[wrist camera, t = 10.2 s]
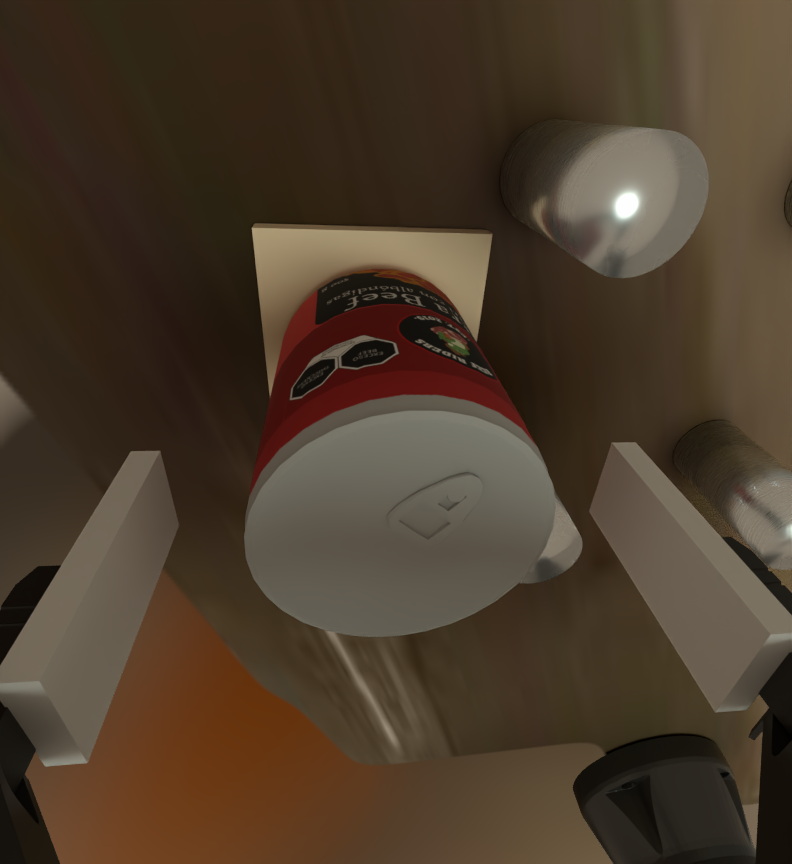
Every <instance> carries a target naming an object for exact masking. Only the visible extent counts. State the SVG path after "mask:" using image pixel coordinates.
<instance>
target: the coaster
mask: <svg viewBox="0 0 792 864" xmlns="http://www.w3.org/2000/svg"><path fill="white" fill-rule="evenodd" d="M252 234H253V244H254V253H255V262H256V272H257V281H258V290H259V300H260V309H261V318H262V328H263V337H264V347H265V356H266V365H267V375H268V384H269V393H270V396H271V391H272V387H273V382H274V378H275V373H276V369H277V364H278V360H279V355H280V351H281V346H282V342H283V337H284V334H285V332H286V330H287V328H288V325H289V323H290V321H291V319H292V317H293V316H294V315H295V313H296V312H297V311H298V309H299V308H300V306H301V305H302V304H303V303H304V302H305V301H306V300H307V299H308V298H309V297H310V296H311V295H312V294H313V293H314V292H316V291H317V290H318V289H320V288H321V287H323V286H325V285H326V284H328V283H329V282H331V281H333V280H334V279H337V278H340V277H342V276H345V275H348V274H350V273H353V272H358V271H364V270H370V269H392V270H398V271H402V272H406V273H410V274H414V275H416V276H418V277H420V278H422V279H424V280H427V281H429V282H431V283H432V284H433V285H435V286H436V287H437V288H438V289H440V290H441V291H442V292H443V293H445V294H446V295H447V297H448V298H449V299H450V301H451V302H452V303H453V304H454V306H455V307H456V308H457V310H458V311H459V313H460V315H461V316H462V318H463V320H464V322H465V323H466V325H467V327H468V328H469V330H470V332H471V333H472V335H473V337H474V338H475V340H476V342H477V337H478V331H479V324H480V317H481V310H482V303H483V296H484V290H485V283H486V276H487V269H488V262H489V255H490V248H491V242H492V235H493V234H492V233H491V232H489V231H488V230H483V229H447V228H410V227H374V226H337V225H301V224H265V223H255V224H254V225H253V227H252Z"/></svg>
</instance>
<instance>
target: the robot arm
mask: <svg viewBox="0 0 792 864" xmlns="http://www.w3.org/2000/svg"><path fill="white" fill-rule="evenodd" d="M589 513H590V514H591V516H592V517H593V519H594V521H595V522H596V524H597V525H598V527H599V528H600V530H601V532H602V533H603V535H604V536H605V538H606V540H607V541H608V543H609V544H610V546H611V548H612V549H613V551H614V552H615V554H616V556H617V557H618V559H619V560H620V562H621V563H622V565H623V567H624V568H625V570H626V571H627V573H628V575H629V576H630V578H631V579H632V581H633V583H634V584H635V586H636V587H637V589H638V590H639V592H640V594H641V595H642V597H643V598H644V600H645V602H646V603H647V605H648V606H649V608H650V610H651V611H652V613H653V614H654V616H655V618H656V619H657V621H658V622H659V624H660V625H661V627H662V629H663V630H664V632H665V633H666V635H667V637H668V638H669V640H670V641H671V643H672V645H673V646H674V648H675V649H676V651H677V653H678V654H679V656H680V657H681V659H682V660H683V662H684V664H685V665H686V667H687V668H688V670H689V672H690V673H691V675H692V676H693V678H694V680H695V681H696V683H697V684H698V686H699V688H700V689H701V691H702V692H703V694H704V695H705V697H706V699H707V700H708V702H709V703H710V705H711V707H712V708H713V710H714V711H715V712H726V711H738V710H747V709H748V708H749V706H750V705H751V704H752V703H753V701H754V700H755V699H756V697H757V696H758V695H759V694H760V696H761V697H762V698H763V700H764V701H765V702H766V704H767V705H768V707H769V709H768V710H767V711H766V713H765V714H764V715H763V716H762V718H761V719H760V720H759V721H758V723H757V724H756V725H755V726H754V727H753V729H752V730H751V733H750V735H749V738H751V739H753V740H755V739H756V738H757V737H758V735H759V734H760V733H761V732H763V737H762V755H761V773H760V791H759V809H758V810H759V811H758V828H757V845H756V846H757V847H756V850H755V848H754V845H753V842H752V839H751V835H750V832H749V828H748V825H747V822H746V818H745V814H744V811H743V807H742V804H741V800H740V797H739V793H738V789H737V786H736V783H735V779H734V775H733V772H732V770H731V768H730V766H729V764H728V763H727V761H726V759H725V758H724V756H723V754H722V752H721V751H720V749H719V747H718V746H717V745H716V744H715V743H714V742H712V741H711V740H708V739H705V738H702V737H696V736H670V737H663V738H657V739H651V740H647V741H643V742H639V743H636V744H633V745H629V746H627V747H624V748H621V749H619V750H616V751H614V752H612V753H610V754H608V755H606V756H604V757H602V758H600V759H598V760H597V761H595V762H593V763H592V764H591V765H589V766H588V767H587V768H586V769H584V770H583V771H582V772H581V773H580V774H579V775H578V777H577V778H576V780H575V782H574V785H573V791H574V794H575V797H576V800H577V802H578V805H579V808H580V811H581V813H582V816H583V818H584V819H585V821H586V822H587V824H588V825H589V827H590V829H591V830H592V831H593V833H594V835H595V836H596V838H597V839H598V841H599V842H600V844H601V845H602V847H603V849H604V850H605V852H606V853H607V855H608V856H609V858H610V859H611V861H612V862H613V864H792V593H791V592H790V591H789V590H788V589H787V588H786V587H785V585H781V581H780V580H779V579H778V578H777V577H776V576H775V575H774V574H773V573H772V572H771V571H770V572H769V571H768V567H767V566H766V565H765V564H764V563H763V562H762V561H761V560H760V559H759V558H758V557H757V556H756V555H755V554H754V553H753V552H752V551H751V550H750V549H748V548H747V547H745V546H744V545H742V544H741V543H739V542H738V541H736V540H735V539H733V538H732V537H721V536H720V535H719V534H718V533H717V532H716V531H715V530H714V529H713V528H712V526H711V525H710V524H709V523H708V522H707V521H706V520H705V519H704V518H703V517H702V515H701V514H700V513H699V512H698V511H697V510H696V509H695V508H694V507H693V505H692V504H691V503H690V502H689V501H688V500H687V499H686V498H685V497H684V495H683V494H682V493H681V492H680V491H679V490H678V489H677V488H676V487H675V485H674V484H673V483H672V482H671V481H670V480H669V479H668V478H667V477H666V476H665V474H664V473H663V472H662V471H661V470H660V469H659V468H658V467H657V466H656V464H655V463H654V462H653V461H652V460H651V459H650V458H649V457H648V456H647V454H646V453H645V452H644V451H643V450H642V449H641V448H640V447H639V446H638V444H637V443H636V442H623V443H611V446H610V449H609V452H608V455H607V458H606V461H605V464H604V467H603V470H602V473H601V476H600V479H599V482H598V486H597V489H596V492H595V495H594V498H593V501H592V504H591V507H590V510H589ZM178 527H179V523H178V519H177V515H176V511H175V508H174V504H173V500H172V496H171V492H170V488H169V484H168V480H167V476H166V472H165V468H164V464H163V460H162V456H161V452H160V451H131V452H130V454H129V455H128V457H127V459H126V460H125V462H124V464H123V465H122V467H121V469H120V470H119V472H118V473H117V475H116V477H115V478H114V480H113V482H112V483H111V485H110V487H109V488H108V490H107V492H106V493H105V495H104V496H103V498H102V500H101V501H100V503H99V505H98V506H97V508H96V510H95V511H94V513H93V515H92V516H91V518H90V520H89V521H88V523H87V524H86V526H85V528H84V529H83V531H82V533H81V534H80V536H79V538H78V539H77V541H76V542H75V544H74V546H73V547H72V549H71V551H70V552H69V554H68V556H67V557H66V559H65V561H64V562H63V564H62V565H60V566H38V567H37V568H35V569H34V570H33V571H32V572H31V573H29V574H28V575H27V576H26V577H25V578H23V579H22V580H21V581H20V582H19V583H17V584H16V585H15V587H14V588H13V590H12V591H11V592H10V594H9V595H8V597H7V598H6V600H5V601H4V603H3V604H2V606H1V610H0V864H60V862H59V860H58V857H57V854H56V852H55V849H54V846H53V844H52V841H51V838H50V835H49V833H48V830H47V827H46V825H45V822H44V819H43V817H42V815H41V811H40V809H39V806H38V803H37V801H36V798H35V795H34V793H33V790H32V787H31V784H30V782H29V780H28V779H27V777H26V776H25V772H26V770H27V768H28V766H29V764H30V762H31V759H32V757H33V755H34V753H35V752H36V754H37V755H38V757H39V758H40V759H41V761H42V762H43V764H44V765H45V766H56V765H68V764H81V763H88V760H89V758H90V755H91V753H92V750H93V747H94V745H95V742H96V740H97V737H98V734H99V732H100V729H101V727H102V724H103V721H104V719H105V716H106V714H107V711H108V708H109V706H110V703H111V701H112V698H113V695H114V693H115V690H116V688H117V685H118V682H119V679H120V677H121V675H122V672H123V670H124V667H125V664H126V662H127V659H128V657H129V654H130V651H131V649H132V646H133V644H134V641H135V638H136V636H137V633H138V630H139V628H140V625H141V623H142V620H143V618H144V615H145V612H146V610H147V607H148V604H149V602H150V599H151V597H152V594H153V592H154V588H155V586H156V584H157V581H158V578H159V576H160V573H161V571H162V568H163V566H164V563H165V560H166V558H167V555H168V553H169V550H170V547H171V545H172V542H173V540H174V537H175V534H176V532H177V529H178Z"/></svg>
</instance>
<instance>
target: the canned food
mask: <svg viewBox="0 0 792 864" xmlns="http://www.w3.org/2000/svg"><path fill="white" fill-rule="evenodd" d="M555 509H556V503H555V495H554V488H553V483H552V481H551V479H550V477H549V474H548V470H547V467H546V465H545V463H544V460H543V458H542V456H541V454H540V452H539V449H538V447H537V445H536V444H535V442H534V440H533V439H532V437H531V435H530V433H529V432H528V430H527V427H526V425H525V423H524V421H523V420H522V418H521V416H520V414H519V413H518V411H517V409H516V408H515V406H514V404H513V403H512V401H511V399H510V398H509V396H508V394H507V392H506V391H505V389H504V387H503V386H502V384H501V382H500V381H499V379H498V377H497V376H496V374H495V372H494V371H493V369H492V367H491V365H490V364H489V362H488V360H487V359H486V357H485V355H484V354H483V352H482V350H481V349H480V347H479V345H478V343H477V342H476V340H475V338H474V337H473V335H472V333H471V332H470V330H469V328H468V327H467V325H466V323H465V322H464V320H463V318H462V316H461V315H460V313H459V311H458V310H457V308H456V307H455V306H454V304H453V303H452V302H451V301H450V299H449V298H448V297H447V295H446V294H445V293H443V292H442V291H441V290H440V289H438V288H437V287H436V286H435V285H433V284H432V283H431V282H429V281H427V280H424V279H422V278H420V277H418V276H416V275H414V274H410V273H406V272H402V271H398V270H392V269H370V270H364V271H358V272H353V273H350V274H348V275H345V276H342V277H340V278H337V279H334V280H333V281H331V282H329V283H328V284H326V285H325V286H323V287H321V288H320V289H318V290H317V291H316V292H314V293H313V294H312V295H311V296H310V297H309V298H308V299H307V300H306V301H305V302H304V303H303V304H302V305H301V306H300V308H299V309H298V311H297V312H296V313H295V315H294V316H293V317H292V319H291V321H290V323H289V325H288V328H287V330H286V332H285V334H284V337H283V342H282V346H281V351H280V355H279V360H278V364H277V369H276V373H275V378H274V382H273V387H272V391H271V396H270V400H269V405H268V409H267V414H266V418H265V423H264V427H263V432H262V436H261V441H260V446H259V450H258V455H257V459H256V464H255V468H254V473H253V478H252V483H251V488H250V496H249V501H248V506H247V511H246V516H245V528H246V529H245V534H244V541H245V554H246V560H247V563H248V565H249V568H250V571H251V573H252V576H253V579H254V580H255V581H256V583H257V584H258V586H259V587H260V588H261V590H262V591H263V593H264V594H265V595H266V597H268V598H269V599H270V600H271V601H272V602H273V603H274V604H276V605H277V606H278V607H279V608H280V609H281V610H282V611H284V612H286V613H288V614H289V615H291V616H293V617H295V618H296V619H298V620H300V621H301V622H304V623H306V624H309V625H312V626H315V627H317V628H320V629H323V630H326V631H331V632H336V633H340V634H345V635H352V636H366V637H384V636H401V635H407V634H413V633H418V632H424V631H428V630H431V629H435V628H438V627H442V626H445V625H449V624H451V623H454V622H456V621H458V620H461V619H463V618H465V617H468V616H470V615H473V614H475V613H476V612H478V611H480V610H481V609H483V608H485V607H487V606H488V605H490V604H492V603H494V602H495V601H497V600H498V599H499V598H501V597H502V596H503V595H504V594H506V593H507V592H508V591H509V590H511V589H512V588H513V587H515V586H516V585H517V584H518V583H519V582H520V581H521V579H522V578H523V577H524V576H525V575H526V574H527V573H528V572H529V571H530V570H531V569H532V568H533V566H534V565H535V563H536V561H537V560H538V558H539V557H540V555H541V554H542V552H543V551H544V549H545V547H546V545H547V542H548V539H549V537H550V534H551V532H552V529H553V525H554V517H555Z"/></svg>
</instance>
